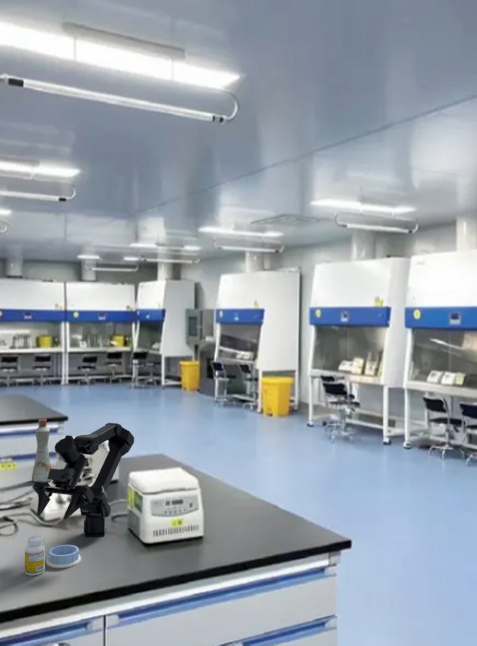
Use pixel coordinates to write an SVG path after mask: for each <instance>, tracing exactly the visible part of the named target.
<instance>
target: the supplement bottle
mask: <svg viewBox="0 0 477 646" xmlns="http://www.w3.org/2000/svg"><path fill="white" fill-rule="evenodd" d="M43 542H44V540H43V536H42V535H41V536H40V535H34V536H29V537H28V538H27V545H26V546H25V548H24V573H25V575H27V576H38V575H41V574H43V573H44V572H45V569H46V568H45V567H46V560H45V557H46V555H45V553H46V552H45V551H46V548H45V547H46V546H45V544H43Z"/></svg>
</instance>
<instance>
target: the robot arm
mask: <svg viewBox="0 0 477 646" xmlns="http://www.w3.org/2000/svg"><path fill="white" fill-rule="evenodd" d="M107 441H108V442H107ZM105 442H107V445H108V452H107V455H106V456H105V459H104V462H103V464H102V466H101V468H100V469H99V472H98V474H97V477H96V478H95V481H94V483H93V485H91V486H88V485H81V484H78V483H81V481H82V478H81V476H82V473H83V471H84V469H85V467H86V468H87V467H88V468H89V466H90V463H89V461H88V460H89V458H88V457H85V455H86V456H92V455H94V454H95V453H97V451H98V450H99V446H100V445H102V444H104V443H105ZM133 445H135V437H134V435H133V433H131V431H129V429H127V428H125V427H123V426H122V424H119V423H117V422H107V423H105V425H103V426H102V427H100V428H98V429H96V430H95V431H93V432H91V433H88V434H79V435H76V436H75V437H73V436H72V435H65V437H64V438H61V439H60V440H59V441H57V442H56V443H55V445H54V451H55V453H56V455H58V456H59V458H60V459H61V461H62V462H63V463H65V465H64V467H63V468H52V467H51V468H50V470H49V474H48V478H47V479H51V481H52V484H53V485H55V486H53V485H50V483H49V482H46V481H36V482H34V483H33V485H32V487H31V488H32V490H33V491H34V492H35V493H36V495H37V498H38V499H37V510H36V515H37V516H38V517H40V516H41V515H42V514H43V513H44V511H45V510H46V507H47V506H48V504H49V502H50V501H51V498H50V497H52V496H53V494H55V495H56V494H57V495H63V496H64V495H66V496H70V497H71V499H70V502H69V504H68V506H67V509H66V510H65V512H64V516H63V519H64V521H65V520H68V519H69V518H70V517H71V516H72V515H73V514H74V513H75V512H76V511H78V510H79V512H80V515H81V516H85V518H84V520H83V534H84V537H104V536H106V532H107V527H106V518H108V517H109V516H110V515H111V511H112V508H111V506H110V505H109V503H108V494H107V493H108V492H107V491H108V489H109V486H110V484H111V481H112V479H113V477H114V475H115V474H116V471H117V468H118V466H119V463H120V461H121V459H122V458H123V456H125V455H126V454H128V453H129V452H130V450H131V448H132V447H133Z"/></svg>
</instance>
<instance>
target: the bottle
mask: <svg viewBox="0 0 477 646" xmlns="http://www.w3.org/2000/svg"><path fill="white" fill-rule="evenodd" d="M47 423H48V422H47V419H46V418H43V417H42V418H39V419H38V427H37V428H36V429H35V438H36V445H37V447H36V452H35V459H34V465H33V469H32V474H31V481H32V482H34V483H35V482H36V481H46V482H48V483H49V482H51V481H52V480H51V479H47V478H48V474H49V470H50V468H51V469H52V464H51V460H50V451H49V445H48V444H49V438H50V432H51V429H50V428H49V427H48V426H47Z"/></svg>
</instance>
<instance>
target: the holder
mask: <svg viewBox="0 0 477 646" xmlns="http://www.w3.org/2000/svg"><path fill="white" fill-rule="evenodd" d="M81 561H82V555H80V547H78V546H76V545H73V544H61V545H60V544H59V545H55V546H53V547H51V548H50V549H49V550H48V553H47V557H46V560H45V565H46V566H48V567H49V568H54V569H66V568H67V569H68V568H71V567H75V566H76V565H78V564H80V563H81Z"/></svg>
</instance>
